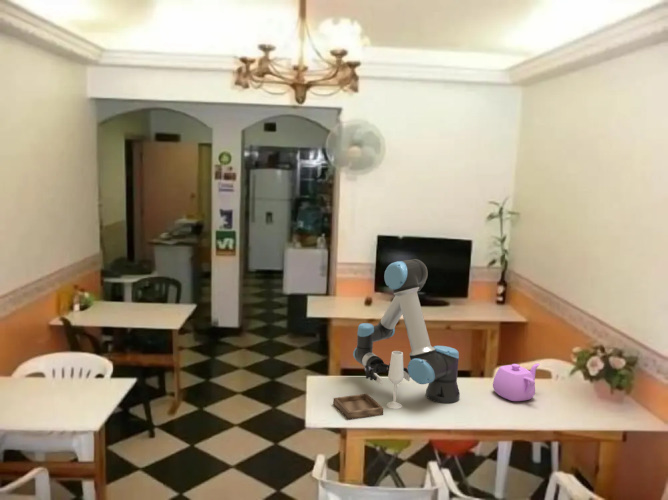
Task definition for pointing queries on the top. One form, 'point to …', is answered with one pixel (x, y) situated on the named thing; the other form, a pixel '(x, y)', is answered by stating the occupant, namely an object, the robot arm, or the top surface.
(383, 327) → the robot arm
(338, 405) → the walnut tray
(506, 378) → the teapot
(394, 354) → the champagne flute
